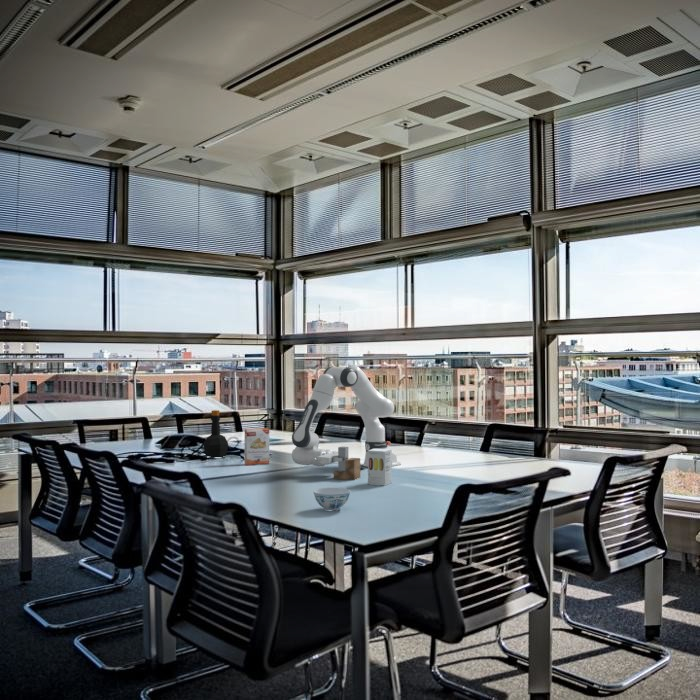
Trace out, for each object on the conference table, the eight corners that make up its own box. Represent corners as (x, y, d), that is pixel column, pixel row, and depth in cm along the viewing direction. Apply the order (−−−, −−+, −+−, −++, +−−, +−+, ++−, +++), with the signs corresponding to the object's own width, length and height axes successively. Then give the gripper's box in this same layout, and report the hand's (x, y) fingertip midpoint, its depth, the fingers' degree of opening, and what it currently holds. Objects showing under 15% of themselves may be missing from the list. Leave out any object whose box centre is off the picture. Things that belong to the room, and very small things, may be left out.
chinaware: (351, 505, 298) (351, 487, 298) (349, 513, 283) (348, 494, 283) (315, 505, 299) (315, 487, 299) (311, 513, 284) (311, 494, 284)
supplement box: (367, 484, 348) (366, 450, 348) (374, 481, 356) (374, 448, 357) (385, 486, 344) (385, 451, 344) (392, 482, 352) (391, 448, 353)
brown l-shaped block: (333, 478, 367) (333, 459, 367) (339, 476, 374) (339, 457, 374) (354, 479, 362) (354, 460, 363) (360, 477, 370) (360, 458, 370)
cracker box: (246, 465, 416) (246, 429, 416) (244, 464, 422) (243, 429, 422) (270, 464, 421) (269, 428, 422) (267, 462, 427) (266, 427, 427)
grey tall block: (338, 474, 368) (338, 447, 368) (341, 473, 372) (341, 446, 372) (345, 475, 367) (345, 447, 367) (348, 473, 370) (348, 446, 370)
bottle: (208, 460, 442) (207, 411, 442) (199, 457, 456) (199, 410, 456) (232, 458, 450) (232, 410, 450) (223, 455, 464) (222, 409, 464)
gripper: (312, 454, 365) (336, 455, 359) (328, 449, 384) (352, 450, 378) (312, 466, 365) (336, 467, 359) (328, 461, 384) (352, 462, 378)
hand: (344, 458), depth 369 cm, fingers closed on grey tall block, 4 cm apart
